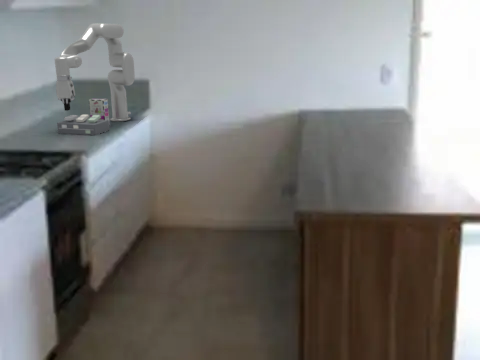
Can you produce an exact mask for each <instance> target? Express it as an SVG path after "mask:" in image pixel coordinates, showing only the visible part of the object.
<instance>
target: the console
mask: <svg viewBox="0 0 480 360" xmlns="http://www.w3.org/2000/svg"><path fill="white" fill-rule="evenodd" d="M109 120H110V119H109ZM109 120H97V121H96V122H95V123H88V119H86V120H85V121H84V122H76V119H74V120H71V121H70V120H62V121H59V122H57V123H56V124H57V125H56V126H57V133H58V134H66V135H67V134H68V135H85V136H87V135H88V136H98V135H101V134H103V132H104V133H106V132H105V131H107V132H109V131H110V126H109ZM108 130H109V131H108ZM100 133H101V134H100ZM97 134H98V135H97Z"/></svg>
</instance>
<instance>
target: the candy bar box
mask: <svg viewBox="0 0 480 360" xmlns="http://www.w3.org/2000/svg"><path fill="white" fill-rule="evenodd" d="M88 104H89V105H88V106H89V118H91V117H92V116H93V115H100V116H101V118H100V119H99V120H109V127H110V126H111V123H110V122H111V120H110V112H109V111H110V108H109V107H110V106H109V99H108V98H90V99H88Z"/></svg>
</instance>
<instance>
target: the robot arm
mask: <svg viewBox="0 0 480 360" xmlns="http://www.w3.org/2000/svg"><path fill="white" fill-rule="evenodd" d="M124 31H125V30H124V28H123V26H122V25H121V24H119V23H106V22H105V23H103V22H102V23H101V22H100V23H99V22H98V23H97V22H95V23H90V24H89V25H88V26H87V28H86V29H85V31H84V32H83V33H82V34H81V36H80V37H79V38H78V39H77V40H75V41H73V42H72V43H70V44H69V45H68V46H66V47H65V48H64V49H63V51H62V52H61V53H60V55H59V56H56V57H55V58H54V65H55V73H56V75H55V76H56V80H57V81H56V82H55V84H56V85H55V90H56V97H57V100H58V101H61V102H62V104H63V108H64V111H66V112H68V111H71V103H72V101H75V97H76V90H75V86H74V81H72V79H73V77H72V76H71V74H70V73H71V72H70V69H77V68H79V67H81V66H82V64H83V60H82V57H81V56H79V54H83V53H84V52H87V51H89V50H91V49H92V47H93V46H94V44H95V43H96V42H97V40H98V39H103V40H104V41H105V43H106V44H107V50H108V63H109V65H110V66H111V67H112V68H117V69H112V70H110V71H109V72H108V74H107V81H108V85H109V89H110V100H111V112H112V117H109V120H110V122H125V121H130V120H131V117H130V116H129V115H131V111H128V101H127V100H128V99H127V90H126V88H125V86H128V87H129V86H131V85H133V84H134V82H135V76H136V75H135V61H134V60H135V59H134V57H133V54H131V52H129V51H128V52H127V51H123V45H122V41H121V38H122V37H123V35H124ZM118 68H121V69H118Z"/></svg>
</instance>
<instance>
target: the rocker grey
mask: <svg viewBox="0 0 480 360" xmlns="http://www.w3.org/2000/svg"><path fill="white" fill-rule="evenodd" d="M78 117H79V115H78V114H77V115H76V114H70V115H68V116H65V117H64V120H63V121H66V120H70V121H71V120H74V119H77V118H78Z"/></svg>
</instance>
